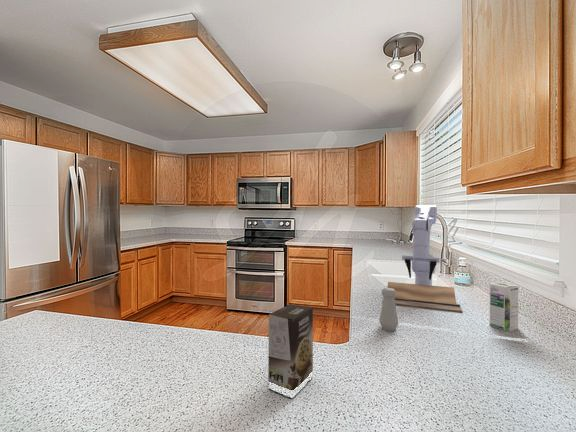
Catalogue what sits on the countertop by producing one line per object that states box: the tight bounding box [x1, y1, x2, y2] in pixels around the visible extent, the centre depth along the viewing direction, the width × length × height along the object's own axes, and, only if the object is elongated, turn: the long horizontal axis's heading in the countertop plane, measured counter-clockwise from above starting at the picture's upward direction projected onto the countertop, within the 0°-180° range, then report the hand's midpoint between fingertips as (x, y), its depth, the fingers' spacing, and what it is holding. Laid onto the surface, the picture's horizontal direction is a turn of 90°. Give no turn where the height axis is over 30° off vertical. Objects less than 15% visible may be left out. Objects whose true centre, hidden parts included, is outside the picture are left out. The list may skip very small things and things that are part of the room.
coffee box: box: [267, 303, 314, 390], centre depth 63 cm, size 9×6×16 cm
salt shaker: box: [378, 287, 399, 332], centre depth 93 cm, size 6×6×13 cm
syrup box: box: [488, 282, 519, 332], centre depth 93 cm, size 6×6×14 cm
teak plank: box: [386, 281, 457, 304], centre depth 122 cm, size 10×26×2 cm, turn 67°
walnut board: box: [382, 298, 463, 314], centre depth 114 cm, size 6×28×2 cm, turn 67°
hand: (419, 278), depth 123 cm, fingers open, 7 cm apart
